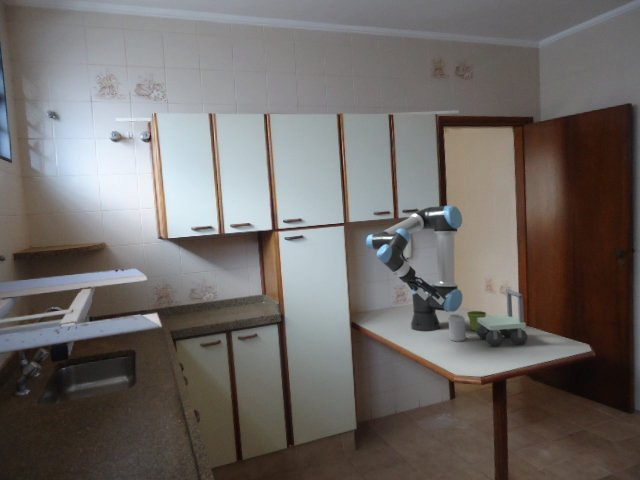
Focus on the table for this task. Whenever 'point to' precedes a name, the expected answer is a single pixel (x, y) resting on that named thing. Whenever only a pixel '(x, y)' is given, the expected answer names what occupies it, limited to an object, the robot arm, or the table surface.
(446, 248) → the robot arm
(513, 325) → the trolley
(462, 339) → the can
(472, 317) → the plant pot
